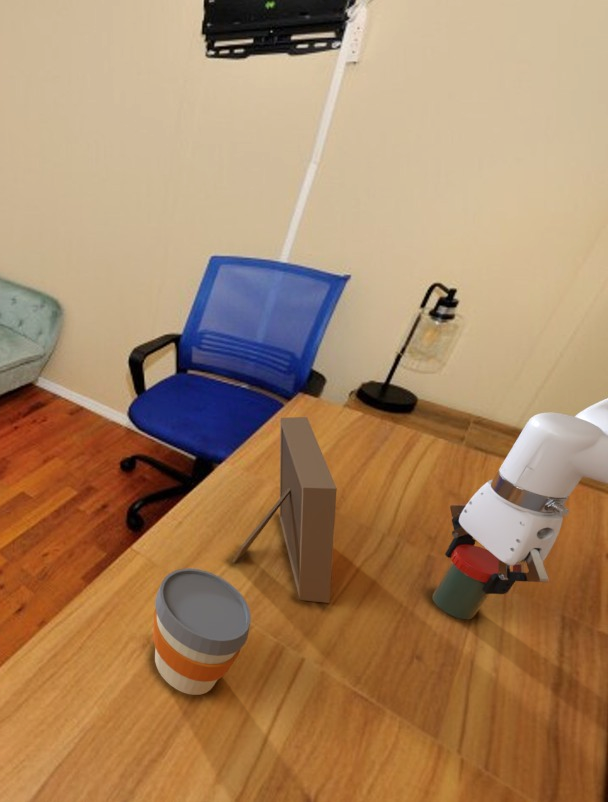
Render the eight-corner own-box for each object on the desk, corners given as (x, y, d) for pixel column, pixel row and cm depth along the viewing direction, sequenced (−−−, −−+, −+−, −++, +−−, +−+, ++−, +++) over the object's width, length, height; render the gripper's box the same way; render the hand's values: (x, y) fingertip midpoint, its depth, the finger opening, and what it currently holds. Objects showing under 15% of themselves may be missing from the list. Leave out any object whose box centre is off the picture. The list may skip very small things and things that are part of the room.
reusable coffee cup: (134, 628, 85) (147, 566, 78) (209, 630, 84) (229, 567, 77) (156, 706, 74) (174, 642, 67) (243, 708, 73) (270, 643, 66)
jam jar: (470, 600, 89) (498, 557, 84) (478, 625, 84) (508, 581, 79) (429, 587, 91) (455, 544, 86) (435, 610, 87) (462, 567, 82)
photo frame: (302, 521, 106) (341, 422, 94) (327, 606, 88) (380, 496, 76) (225, 505, 111) (253, 409, 99) (234, 583, 93) (270, 476, 81)
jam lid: (446, 546, 88) (451, 538, 87) (499, 562, 84) (504, 553, 84) (454, 573, 83) (459, 565, 82) (510, 591, 79) (516, 583, 78)
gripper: (617, 533, 68) (548, 620, 76) (500, 455, 83) (453, 535, 92) (560, 533, 68) (497, 620, 77) (453, 456, 83) (411, 535, 92)
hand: (473, 573), depth 84 cm, fingers closed on jam lid, 6 cm apart
